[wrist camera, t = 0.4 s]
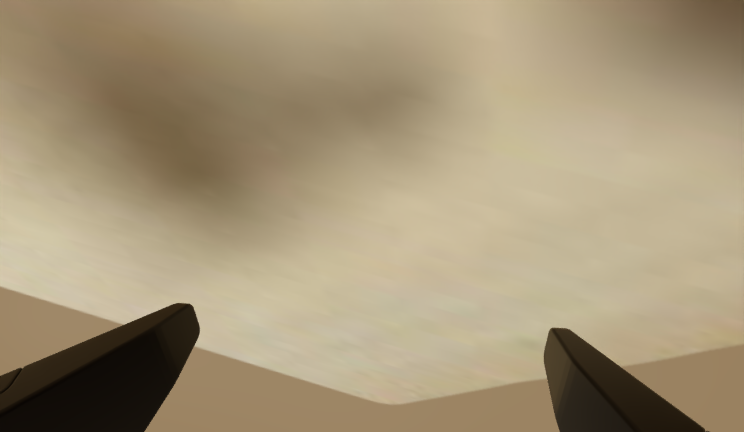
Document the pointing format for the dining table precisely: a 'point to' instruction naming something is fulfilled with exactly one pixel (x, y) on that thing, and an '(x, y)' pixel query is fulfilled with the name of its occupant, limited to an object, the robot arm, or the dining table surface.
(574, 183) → the dining table surface
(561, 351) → the robot arm
